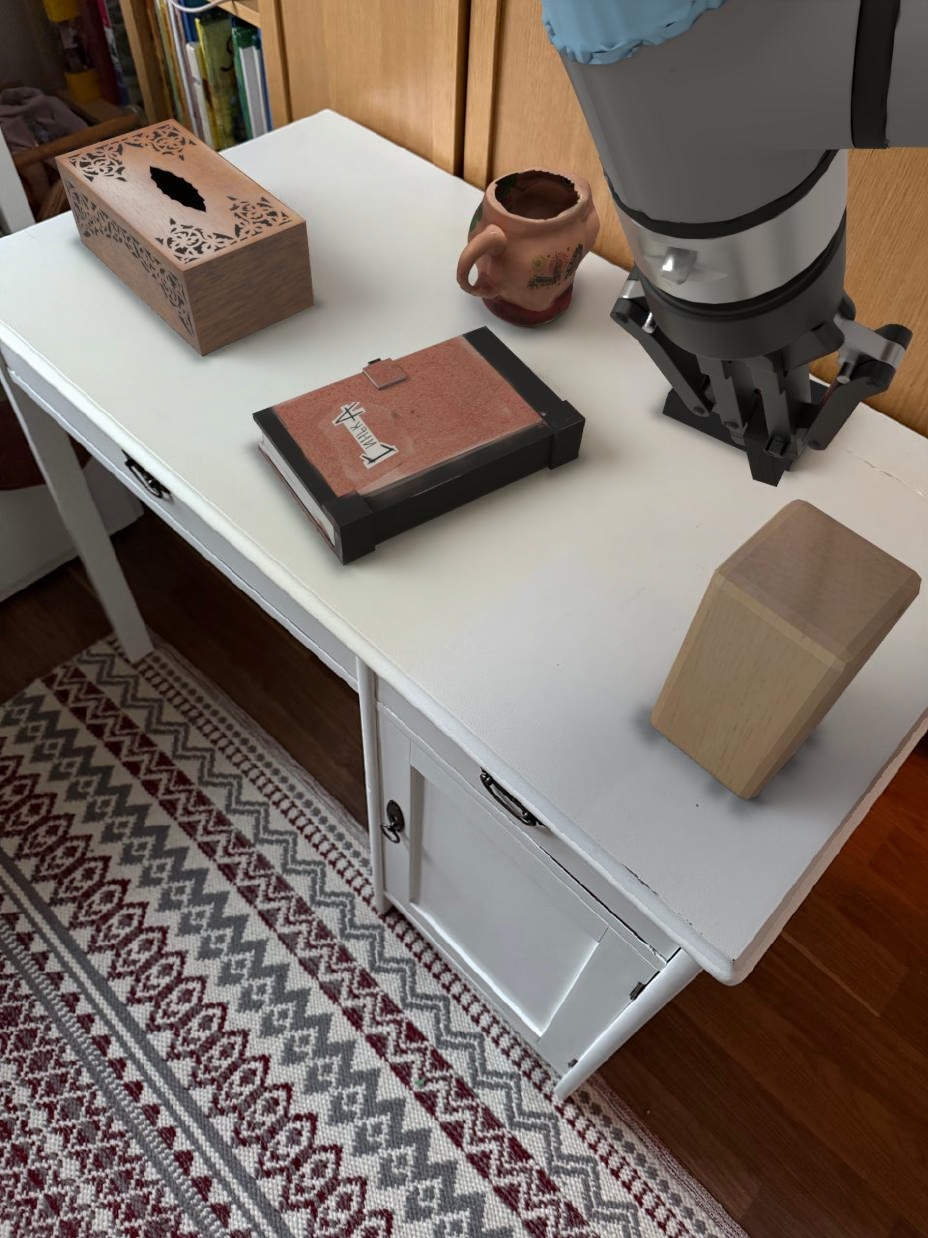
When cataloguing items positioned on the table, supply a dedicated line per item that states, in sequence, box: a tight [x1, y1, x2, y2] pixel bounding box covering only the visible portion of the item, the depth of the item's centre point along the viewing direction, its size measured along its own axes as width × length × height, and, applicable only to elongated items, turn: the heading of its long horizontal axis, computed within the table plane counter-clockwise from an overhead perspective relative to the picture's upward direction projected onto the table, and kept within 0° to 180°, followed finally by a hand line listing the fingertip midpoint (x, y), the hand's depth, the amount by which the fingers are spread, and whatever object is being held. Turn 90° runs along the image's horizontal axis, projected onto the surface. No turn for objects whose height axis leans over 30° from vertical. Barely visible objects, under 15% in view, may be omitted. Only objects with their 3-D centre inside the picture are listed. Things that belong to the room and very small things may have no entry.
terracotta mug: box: [455, 166, 601, 327], centre depth 97 cm, size 20×12×14 cm, turn 141°
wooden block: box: [649, 498, 923, 801], centre depth 64 cm, size 10×10×20 cm
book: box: [251, 325, 587, 566], centre depth 87 cm, size 26×18×5 cm
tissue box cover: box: [54, 118, 315, 357], centre depth 99 cm, size 26×14×10 cm, turn 42°
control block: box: [662, 378, 829, 472], centre depth 92 cm, size 14×11×4 cm
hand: (774, 462), depth 54 cm, fingers closed
